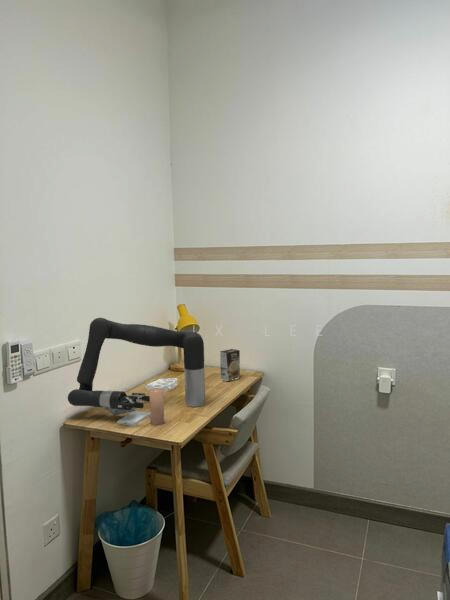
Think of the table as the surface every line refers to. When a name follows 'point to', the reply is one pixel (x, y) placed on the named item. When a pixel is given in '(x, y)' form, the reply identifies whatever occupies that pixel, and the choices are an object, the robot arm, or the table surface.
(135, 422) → the hard drive
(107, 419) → the table surface
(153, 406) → the pink rounded cylinder
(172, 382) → the white brass knuckles
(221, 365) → the coffee box
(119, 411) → the slate dish
